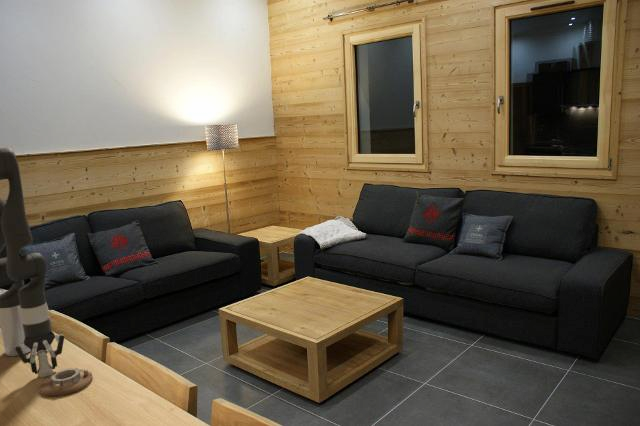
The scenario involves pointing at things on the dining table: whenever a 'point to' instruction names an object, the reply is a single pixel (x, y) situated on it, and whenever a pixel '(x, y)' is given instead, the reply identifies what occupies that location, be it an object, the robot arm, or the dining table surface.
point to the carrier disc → (66, 382)
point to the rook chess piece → (44, 364)
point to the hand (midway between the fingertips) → (45, 370)
